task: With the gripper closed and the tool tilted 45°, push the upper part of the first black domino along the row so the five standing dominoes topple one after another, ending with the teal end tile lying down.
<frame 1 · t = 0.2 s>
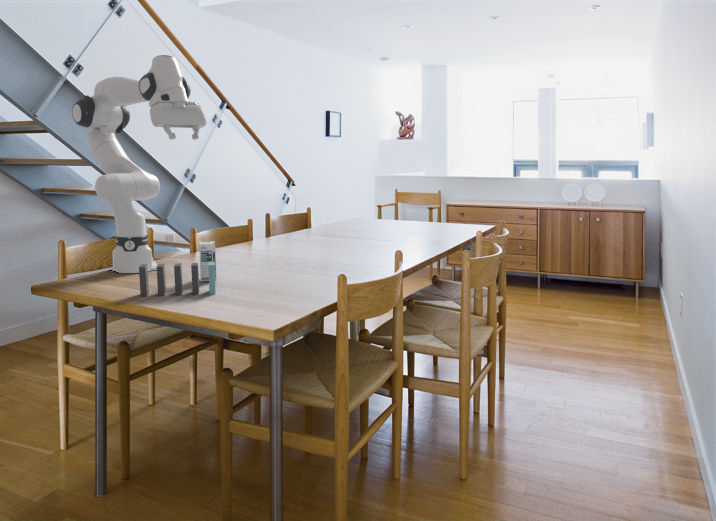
hand: (184, 139, 200), 52 cm above the table, tool tilted 20°, fingers open, 8 cm apart
domino 3: (179, 293, 194), on the table
syrup box: (208, 280, 215), on the table
domino 1: (144, 295, 192), on the table
domino 2: (162, 294, 193), on the table
domino 5: (212, 292, 197), on the table
domino 4: (195, 293, 195), on the table
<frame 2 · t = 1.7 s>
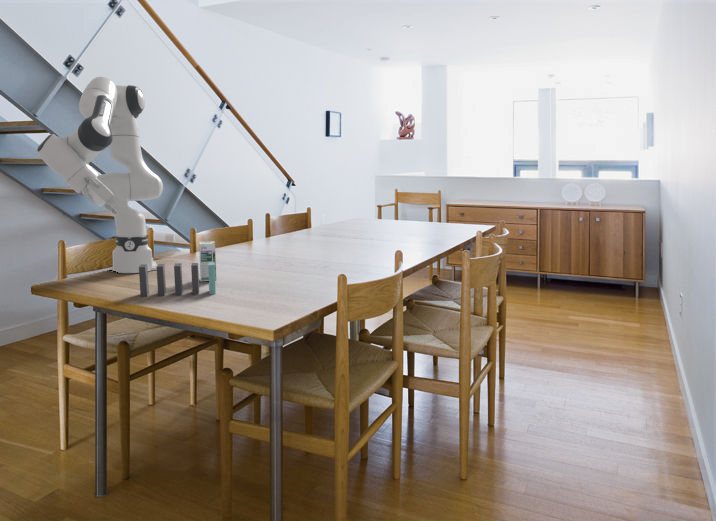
hand: (118, 212, 185), 28 cm above the table, tool tilted 40°, fingers open, 8 cm apart
nothing on the table moved.
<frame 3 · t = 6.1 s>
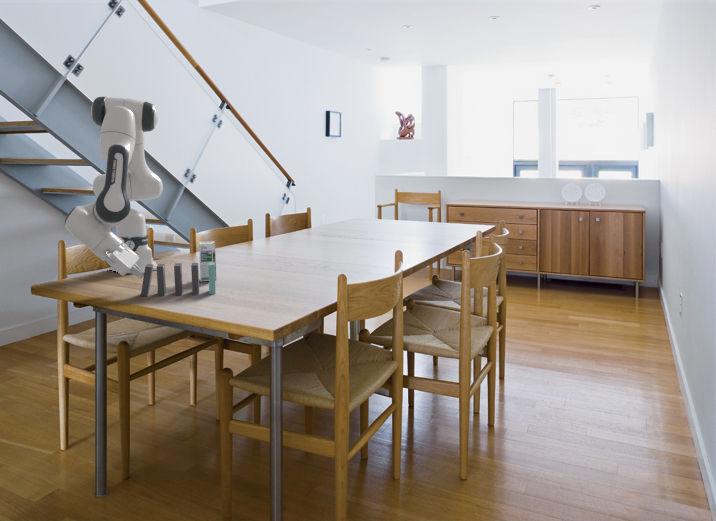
hand: (142, 276, 191), 6 cm above the table, tool tilted 45°, fingers closed
domino 1: (144, 294, 192), on the table, tilted 12°
everything else where it was.
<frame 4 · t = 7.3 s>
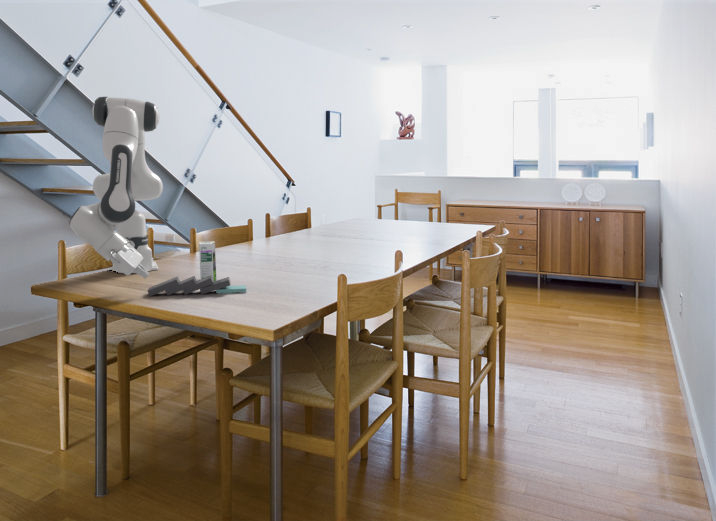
hand: (147, 276, 191), 6 cm above the table, tool tilted 45°, fingers closed
domino 3: (184, 290, 194), point 1 cm above the table, tilted 68°, touching domino 2, domino 4
domino 1: (149, 292, 192), point 1 cm above the table, tilted 69°, touching domino 2
domino 2: (167, 291, 193), point 1 cm above the table, tilted 69°, touching domino 1, domino 3
domino 5: (216, 290, 197), on the table, tilted 90°, touching domino 4
domino 4: (201, 290, 195), point 1 cm above the table, tilted 74°, touching domino 3, domino 5
everything else where it was.
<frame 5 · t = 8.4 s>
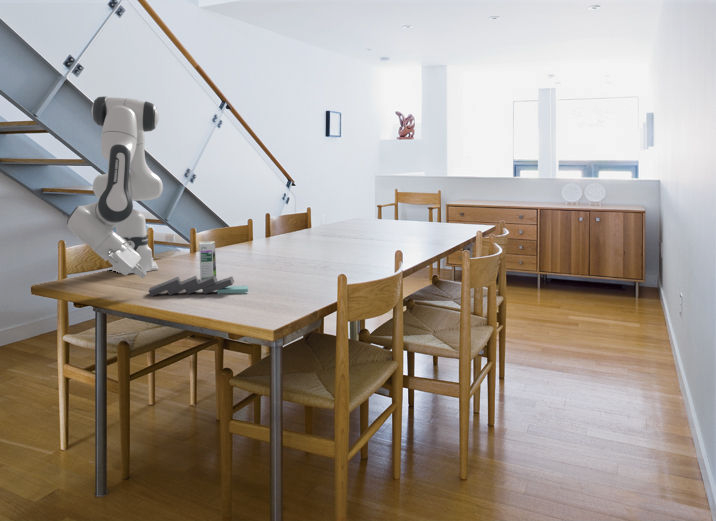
hand: (145, 276, 191), 6 cm above the table, tool tilted 45°, fingers closed
domino 3: (187, 290, 195), point 1 cm above the table, tilted 68°, touching domino 2, domino 4
domino 2: (168, 291, 193), point 1 cm above the table, tilted 69°, touching domino 1, domino 3
domino 4: (204, 289, 196), point 1 cm above the table, tilted 71°, touching domino 3, domino 5
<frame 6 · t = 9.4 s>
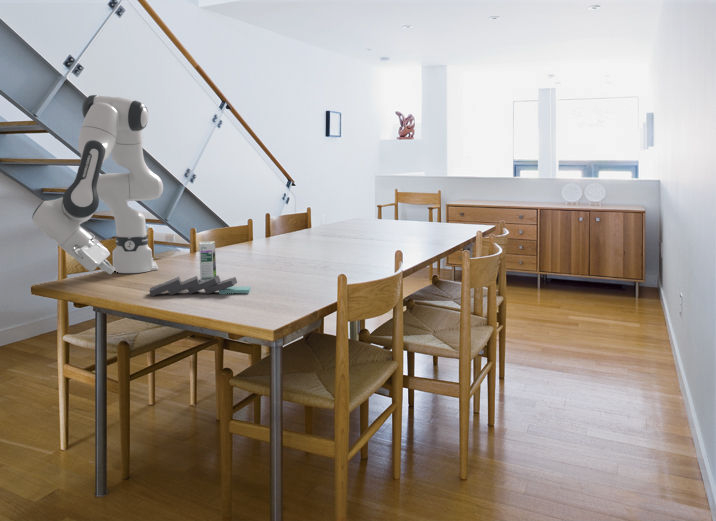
hand: (113, 272, 189), 8 cm above the table, tool tilted 45°, fingers closed
domino 3: (190, 289, 196), point 1 cm above the table, tilted 69°, touching domino 4
domino 2: (169, 291, 193), point 1 cm above the table, tilted 70°, touching domino 1
domino 5: (220, 291, 196), on the table, tilted 90°
domino 4: (207, 289, 196), point 1 cm above the table, tilted 72°, touching domino 3
everything else where it was.
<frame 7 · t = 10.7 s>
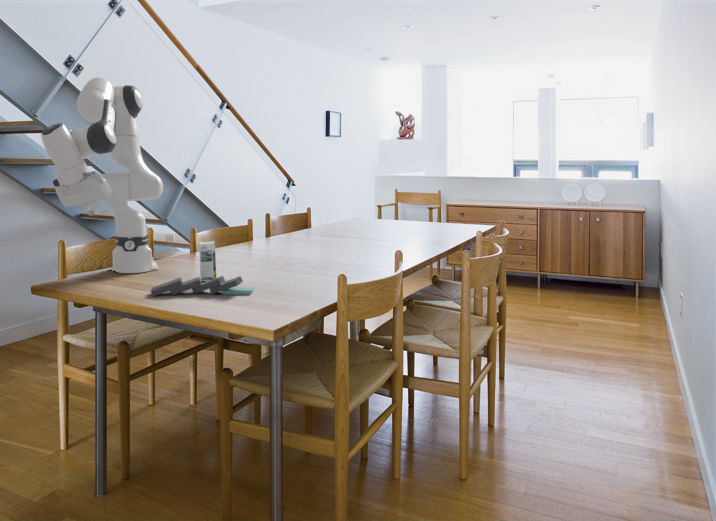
hand: (95, 214, 189), 27 cm above the table, tool tilted 20°, fingers closed
domino 3: (195, 289, 196), point 1 cm above the table, tilted 69°, touching domino 4
domino 5: (223, 291, 196), on the table, tilted 90°, touching domino 4
domino 4: (213, 289, 195), point 1 cm above the table, tilted 69°, touching domino 3, domino 5
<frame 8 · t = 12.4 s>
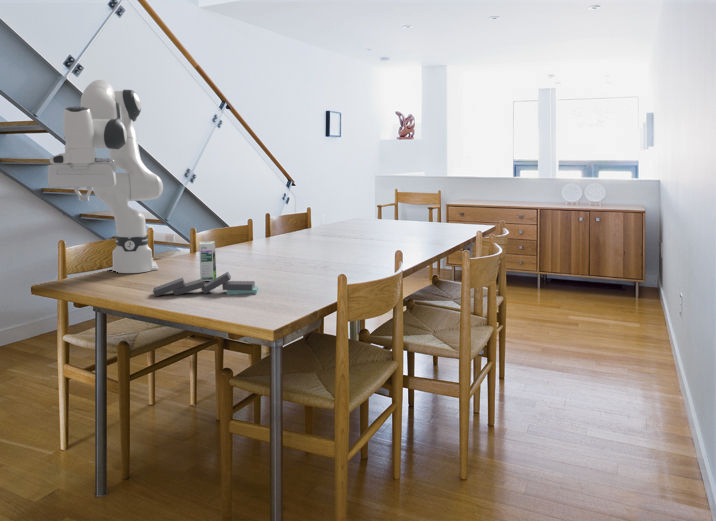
hand: (84, 200, 188), 31 cm above the table, tool pointing down, fingers closed
domino 3: (203, 290, 196), point 1 cm above the table, tilted 61°, touching domino 2
domino 2: (173, 291, 193), point 1 cm above the table, tilted 76°, touching domino 1, domino 3
domino 5: (227, 291, 197), on the table, tilted 90°, touching domino 4
domino 4: (224, 285, 196), point 2 cm above the table, tilted 90°, touching domino 5
at the end: domino 5 tilted 90°; domino 1 tilted 71°; the gripper is holding nothing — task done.
